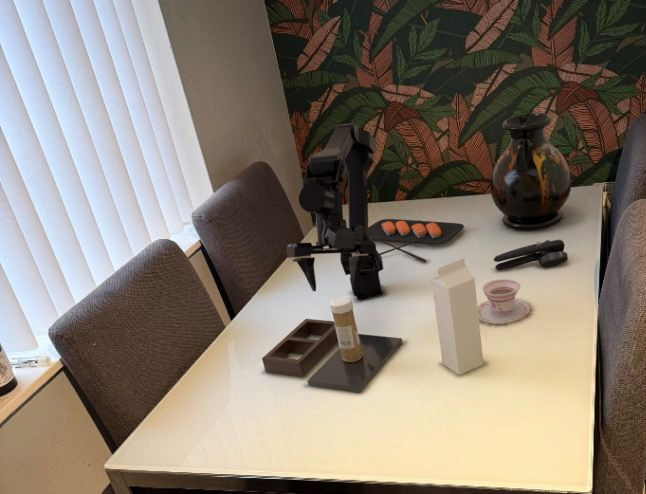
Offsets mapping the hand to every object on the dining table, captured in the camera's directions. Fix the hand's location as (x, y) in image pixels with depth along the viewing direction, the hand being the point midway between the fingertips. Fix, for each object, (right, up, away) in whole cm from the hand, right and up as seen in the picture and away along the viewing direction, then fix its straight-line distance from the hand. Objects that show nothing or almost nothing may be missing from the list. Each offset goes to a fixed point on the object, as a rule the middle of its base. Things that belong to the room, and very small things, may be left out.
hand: (334, 289), depth 164 cm
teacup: (+37, -5, +5) cm, 38 cm away
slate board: (+5, -16, -4) cm, 17 cm away
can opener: (+47, +9, +24) cm, 54 cm away
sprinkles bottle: (+4, -15, -4) cm, 16 cm away
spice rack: (-6, -14, +4) cm, 15 cm away
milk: (+27, -16, -11) cm, 33 cm away
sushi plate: (+15, +18, +48) cm, 53 cm away
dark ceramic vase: (+52, +25, +48) cm, 75 cm away
